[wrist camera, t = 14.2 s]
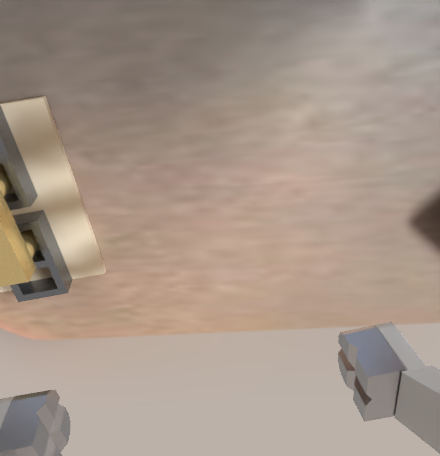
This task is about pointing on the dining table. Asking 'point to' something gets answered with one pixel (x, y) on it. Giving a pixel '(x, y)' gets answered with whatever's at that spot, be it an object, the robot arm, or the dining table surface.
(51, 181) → the chain board
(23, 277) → the tan bar
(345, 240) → the dining table surface
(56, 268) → the chain ends
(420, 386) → the robot arm
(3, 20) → the dining table surface
